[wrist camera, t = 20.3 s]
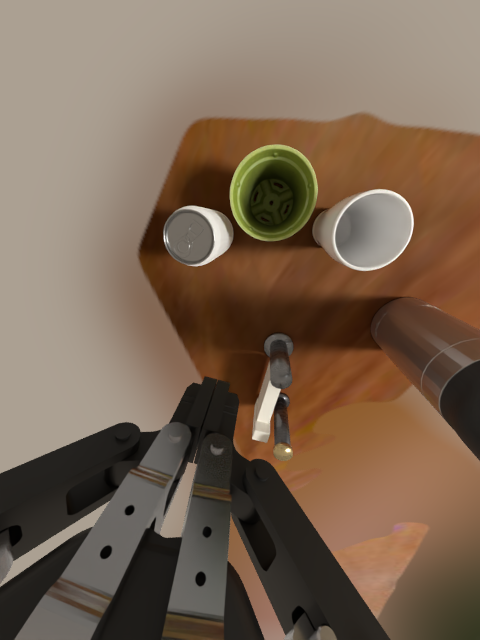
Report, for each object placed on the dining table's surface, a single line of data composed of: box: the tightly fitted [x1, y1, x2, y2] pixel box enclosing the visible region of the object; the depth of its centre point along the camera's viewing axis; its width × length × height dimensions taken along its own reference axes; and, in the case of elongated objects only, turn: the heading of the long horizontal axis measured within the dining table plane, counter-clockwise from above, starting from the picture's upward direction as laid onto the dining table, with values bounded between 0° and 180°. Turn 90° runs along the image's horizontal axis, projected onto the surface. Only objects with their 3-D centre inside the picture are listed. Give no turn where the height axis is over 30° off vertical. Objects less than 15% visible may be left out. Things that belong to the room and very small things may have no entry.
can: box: [163, 206, 233, 266], centre depth 31 cm, size 6×6×12 cm
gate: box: [252, 362, 281, 443], centre depth 40 cm, size 10×2×8 cm, turn 168°
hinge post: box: [264, 333, 293, 389], centre depth 38 cm, size 5×5×10 cm
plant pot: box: [230, 145, 318, 241], centre depth 30 cm, size 9×9×9 cm
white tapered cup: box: [312, 189, 414, 271], centre depth 28 cm, size 7×7×15 cm
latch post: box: [274, 393, 293, 461], centre depth 41 cm, size 4×4×12 cm
